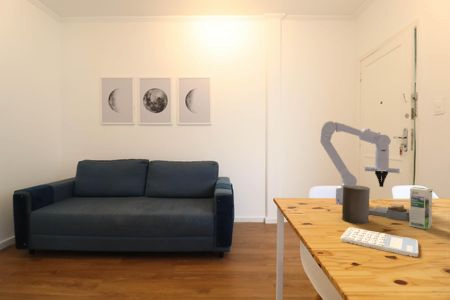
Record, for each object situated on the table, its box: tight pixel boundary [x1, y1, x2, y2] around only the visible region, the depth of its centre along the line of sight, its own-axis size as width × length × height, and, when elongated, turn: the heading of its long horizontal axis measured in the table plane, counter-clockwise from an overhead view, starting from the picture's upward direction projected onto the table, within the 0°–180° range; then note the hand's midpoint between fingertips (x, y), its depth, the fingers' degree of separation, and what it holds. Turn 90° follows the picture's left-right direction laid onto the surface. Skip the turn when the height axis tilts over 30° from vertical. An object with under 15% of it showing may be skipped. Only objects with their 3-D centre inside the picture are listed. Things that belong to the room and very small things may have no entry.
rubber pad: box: [374, 205, 388, 210], centre depth 120 cm, size 7×7×1 cm
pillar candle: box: [341, 183, 371, 225], centre depth 103 cm, size 10×10×15 cm
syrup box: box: [409, 186, 433, 231], centre depth 96 cm, size 6×6×14 cm
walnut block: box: [389, 204, 406, 212], centre depth 107 cm, size 4×4×4 cm
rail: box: [369, 206, 410, 222], centre depth 110 cm, size 18×8×4 cm, turn 54°
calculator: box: [340, 226, 419, 258], centre depth 80 cm, size 13×20×2 cm, turn 53°
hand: (381, 186), depth 126 cm, fingers closed
